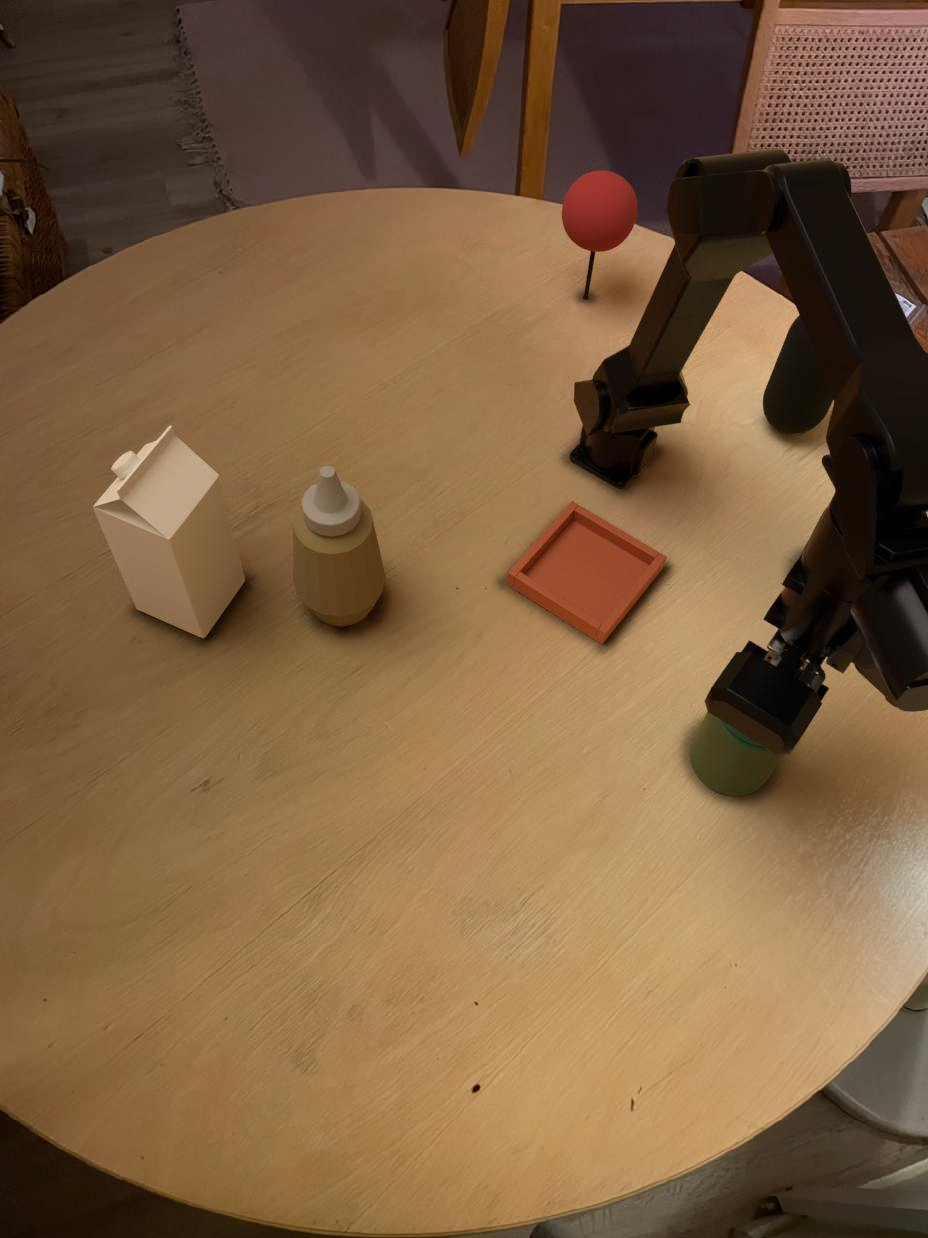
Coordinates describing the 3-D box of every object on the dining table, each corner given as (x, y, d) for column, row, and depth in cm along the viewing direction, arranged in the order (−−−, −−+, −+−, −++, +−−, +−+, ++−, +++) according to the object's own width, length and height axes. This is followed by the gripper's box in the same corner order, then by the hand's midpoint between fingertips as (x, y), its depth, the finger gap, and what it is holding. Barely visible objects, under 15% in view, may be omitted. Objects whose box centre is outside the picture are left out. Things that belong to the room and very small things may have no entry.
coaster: (506, 583, 96) (507, 572, 94) (569, 512, 101) (572, 500, 99) (602, 644, 93) (605, 633, 91) (663, 568, 97) (667, 556, 96)
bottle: (674, 765, 87) (707, 701, 77) (714, 708, 90) (750, 639, 80) (745, 812, 85) (788, 752, 75) (784, 752, 88) (830, 687, 78)
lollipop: (630, 290, 118) (655, 172, 105) (599, 329, 114) (622, 212, 102) (571, 265, 120) (588, 146, 107) (539, 303, 116) (553, 184, 103)
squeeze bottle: (399, 578, 96) (395, 448, 80) (367, 649, 92) (356, 526, 76) (319, 553, 97) (300, 420, 82) (283, 622, 93) (256, 495, 78)
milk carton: (246, 580, 95) (211, 441, 79) (204, 640, 91) (158, 507, 75) (180, 552, 96) (132, 409, 80) (136, 610, 93) (76, 473, 77)
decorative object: (817, 453, 106) (872, 341, 93) (753, 443, 106) (799, 331, 94) (817, 406, 109) (869, 293, 97) (754, 397, 110) (798, 282, 97)
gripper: (912, 749, 57) (818, 847, 70) (1032, 533, 65) (928, 658, 78) (733, 641, 60) (676, 755, 73) (869, 449, 68) (796, 582, 81)
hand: (776, 686), depth 76 cm, fingers closed on cap, 4 cm apart
